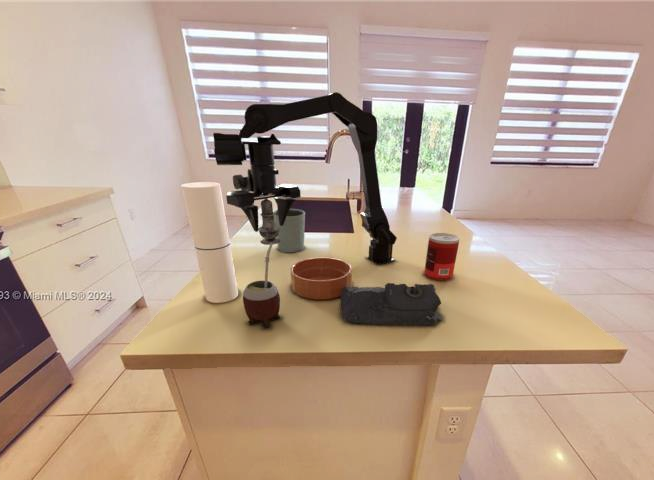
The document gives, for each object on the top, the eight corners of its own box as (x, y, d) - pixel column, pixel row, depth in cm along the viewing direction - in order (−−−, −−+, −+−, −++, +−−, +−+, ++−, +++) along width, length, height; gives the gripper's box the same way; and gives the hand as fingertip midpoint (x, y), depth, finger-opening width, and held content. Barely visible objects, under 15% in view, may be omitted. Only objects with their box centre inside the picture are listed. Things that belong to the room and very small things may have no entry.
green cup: (291, 241, 111) (289, 207, 105) (313, 247, 106) (311, 211, 100) (269, 249, 104) (265, 212, 98) (291, 255, 98) (288, 217, 93)
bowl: (335, 270, 89) (335, 254, 86) (362, 292, 77) (363, 273, 75) (283, 280, 82) (282, 263, 80) (305, 306, 71) (304, 286, 68)
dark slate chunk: (340, 291, 77) (340, 273, 75) (428, 292, 78) (431, 275, 76) (339, 325, 64) (339, 304, 62) (446, 326, 64) (450, 306, 62)
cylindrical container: (207, 305, 70) (181, 188, 58) (204, 292, 75) (180, 182, 64) (240, 299, 73) (222, 186, 61) (235, 286, 78) (217, 181, 67)
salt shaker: (283, 243, 84) (279, 197, 78) (261, 246, 81) (255, 198, 76) (279, 237, 88) (275, 193, 83) (257, 239, 86) (252, 194, 81)
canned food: (457, 275, 88) (464, 237, 83) (443, 283, 83) (450, 243, 78) (433, 267, 92) (438, 231, 87) (418, 275, 87) (423, 236, 82)
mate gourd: (249, 333, 61) (237, 260, 54) (244, 313, 67) (233, 246, 60) (287, 325, 63) (281, 255, 56) (279, 307, 70) (272, 242, 63)
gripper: (273, 160, 87) (278, 217, 94) (209, 164, 74) (220, 229, 81) (300, 163, 81) (303, 224, 88) (234, 168, 68) (244, 238, 75)
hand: (269, 228), depth 83 cm, fingers closed on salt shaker, 8 cm apart
